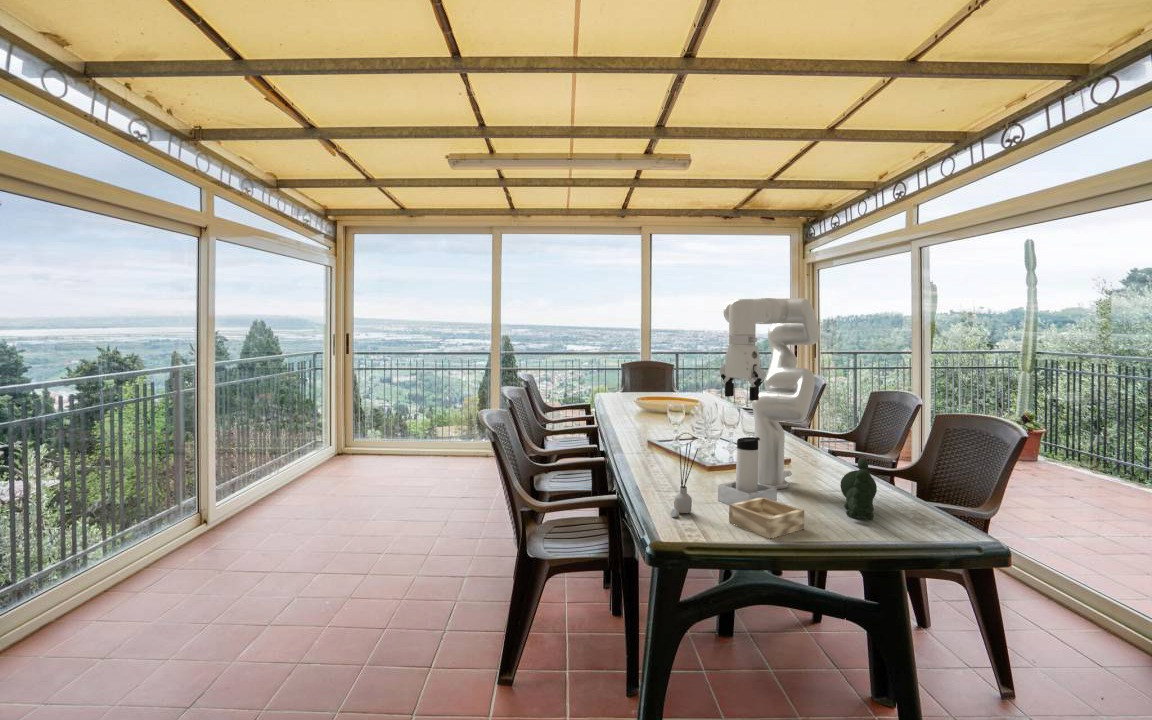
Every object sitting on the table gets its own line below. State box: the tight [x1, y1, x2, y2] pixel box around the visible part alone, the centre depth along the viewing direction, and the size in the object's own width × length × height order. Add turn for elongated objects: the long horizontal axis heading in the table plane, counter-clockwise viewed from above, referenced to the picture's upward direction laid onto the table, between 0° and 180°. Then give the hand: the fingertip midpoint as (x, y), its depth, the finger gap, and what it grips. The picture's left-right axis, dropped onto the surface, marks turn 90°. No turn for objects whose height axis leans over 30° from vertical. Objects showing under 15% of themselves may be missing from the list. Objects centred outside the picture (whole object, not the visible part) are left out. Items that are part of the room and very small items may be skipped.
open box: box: [717, 480, 778, 505], centre depth 164 cm, size 12×12×5 cm
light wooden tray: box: [728, 497, 805, 540], centre depth 145 cm, size 13×13×5 cm
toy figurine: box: [840, 457, 878, 521], centre depth 155 cm, size 9×19×25 cm
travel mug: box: [735, 436, 760, 493], centre depth 164 cm, size 6×7×20 cm
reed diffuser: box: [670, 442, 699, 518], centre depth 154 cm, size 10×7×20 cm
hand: (741, 398), depth 163 cm, fingers open, 9 cm apart
